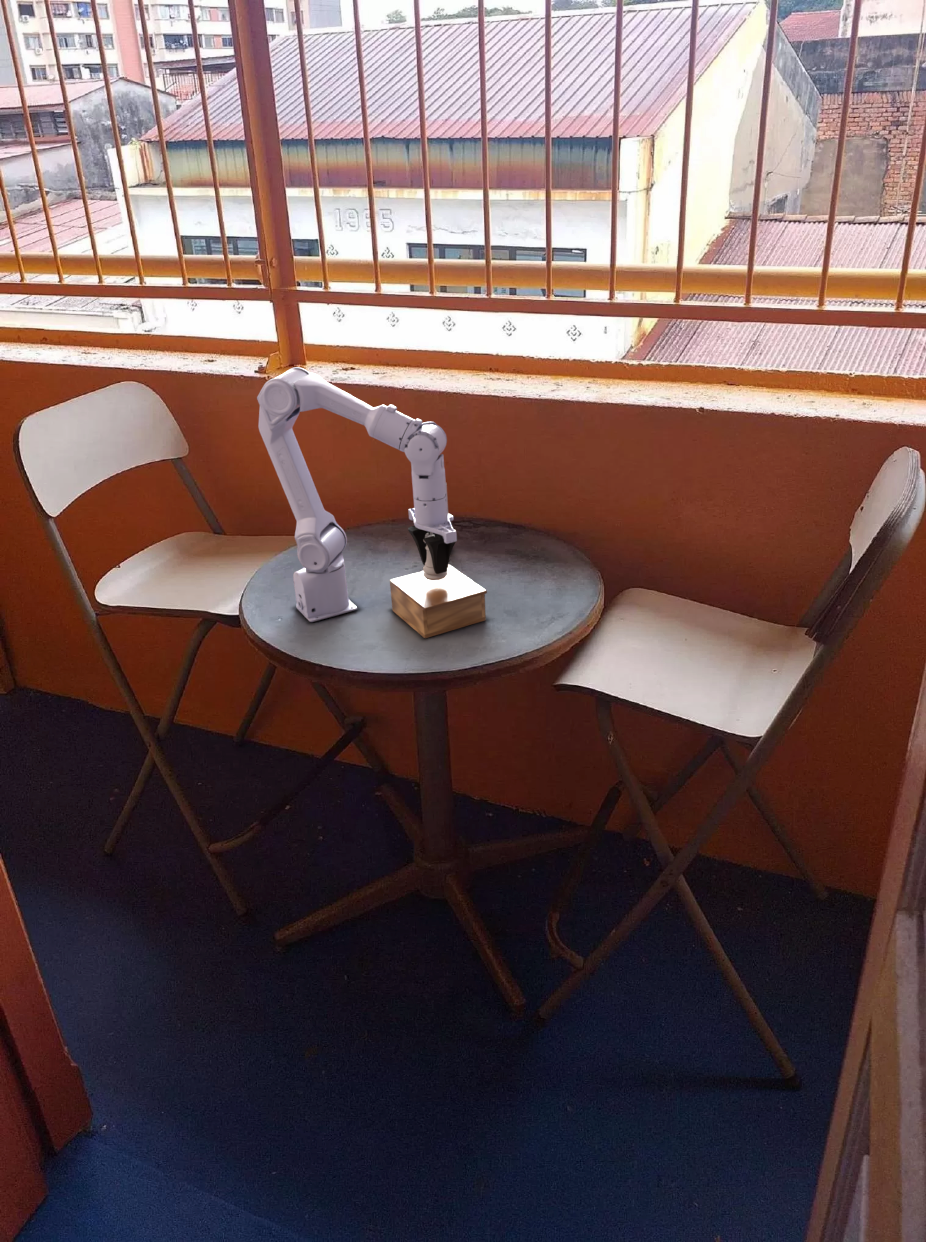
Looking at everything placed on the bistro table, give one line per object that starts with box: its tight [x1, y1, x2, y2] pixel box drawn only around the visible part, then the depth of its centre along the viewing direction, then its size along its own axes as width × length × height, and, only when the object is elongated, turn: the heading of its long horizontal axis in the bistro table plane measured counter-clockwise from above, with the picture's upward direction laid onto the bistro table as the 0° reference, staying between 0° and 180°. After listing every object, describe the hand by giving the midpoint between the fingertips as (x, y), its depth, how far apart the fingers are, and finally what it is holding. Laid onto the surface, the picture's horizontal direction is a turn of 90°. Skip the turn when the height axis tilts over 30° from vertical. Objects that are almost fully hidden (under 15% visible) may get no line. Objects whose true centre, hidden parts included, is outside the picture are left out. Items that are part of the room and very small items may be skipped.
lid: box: [389, 563, 488, 611], centre depth 166 cm, size 14×12×1 cm
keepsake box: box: [389, 582, 487, 639], centre depth 168 cm, size 13×12×6 cm
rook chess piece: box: [422, 532, 447, 580], centre depth 164 cm, size 4×4×8 cm
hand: (434, 567), depth 165 cm, fingers closed on rook chess piece, 4 cm apart
